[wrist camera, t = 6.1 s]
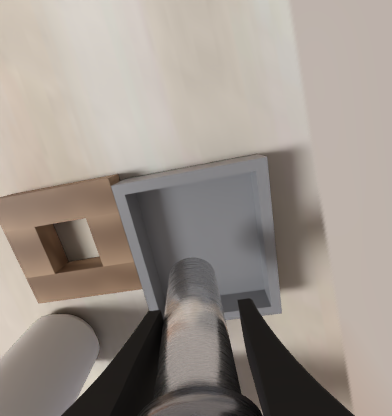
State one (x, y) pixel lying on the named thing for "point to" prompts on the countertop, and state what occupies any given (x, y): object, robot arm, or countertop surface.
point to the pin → (196, 350)
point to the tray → (205, 229)
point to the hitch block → (52, 249)
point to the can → (47, 366)
